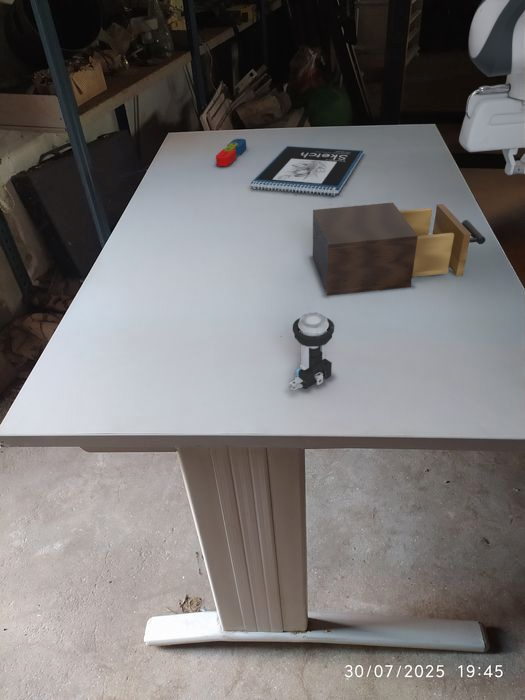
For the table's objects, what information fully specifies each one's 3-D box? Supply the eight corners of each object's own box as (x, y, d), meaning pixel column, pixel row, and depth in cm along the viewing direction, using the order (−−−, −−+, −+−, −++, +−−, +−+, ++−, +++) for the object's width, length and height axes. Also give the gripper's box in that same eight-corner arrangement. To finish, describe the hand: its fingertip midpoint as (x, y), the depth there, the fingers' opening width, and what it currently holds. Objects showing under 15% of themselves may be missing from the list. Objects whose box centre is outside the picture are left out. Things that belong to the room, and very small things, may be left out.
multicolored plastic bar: (228, 168, 143) (227, 156, 141) (214, 167, 144) (213, 156, 142) (248, 148, 155) (247, 137, 154) (235, 147, 156) (234, 136, 155)
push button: (304, 402, 71) (303, 342, 65) (278, 382, 75) (275, 323, 68) (340, 380, 74) (343, 320, 68) (314, 362, 78) (314, 303, 72)
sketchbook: (362, 155, 146) (363, 147, 145) (337, 198, 124) (337, 189, 123) (287, 150, 152) (286, 142, 151) (249, 190, 130) (249, 181, 129)
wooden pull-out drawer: (458, 240, 103) (465, 201, 98) (486, 273, 93) (496, 231, 88) (367, 249, 102) (370, 210, 97) (385, 283, 92) (390, 241, 87)
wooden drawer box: (388, 250, 103) (393, 202, 97) (410, 287, 92) (418, 235, 86) (312, 257, 102) (312, 209, 96) (326, 295, 91) (328, 244, 86)
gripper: (479, 92, 77) (461, 185, 86) (615, 81, 78) (584, 175, 87) (461, 82, 82) (446, 171, 91) (590, 72, 83) (563, 161, 92)
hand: (515, 173), depth 89 cm, fingers closed
